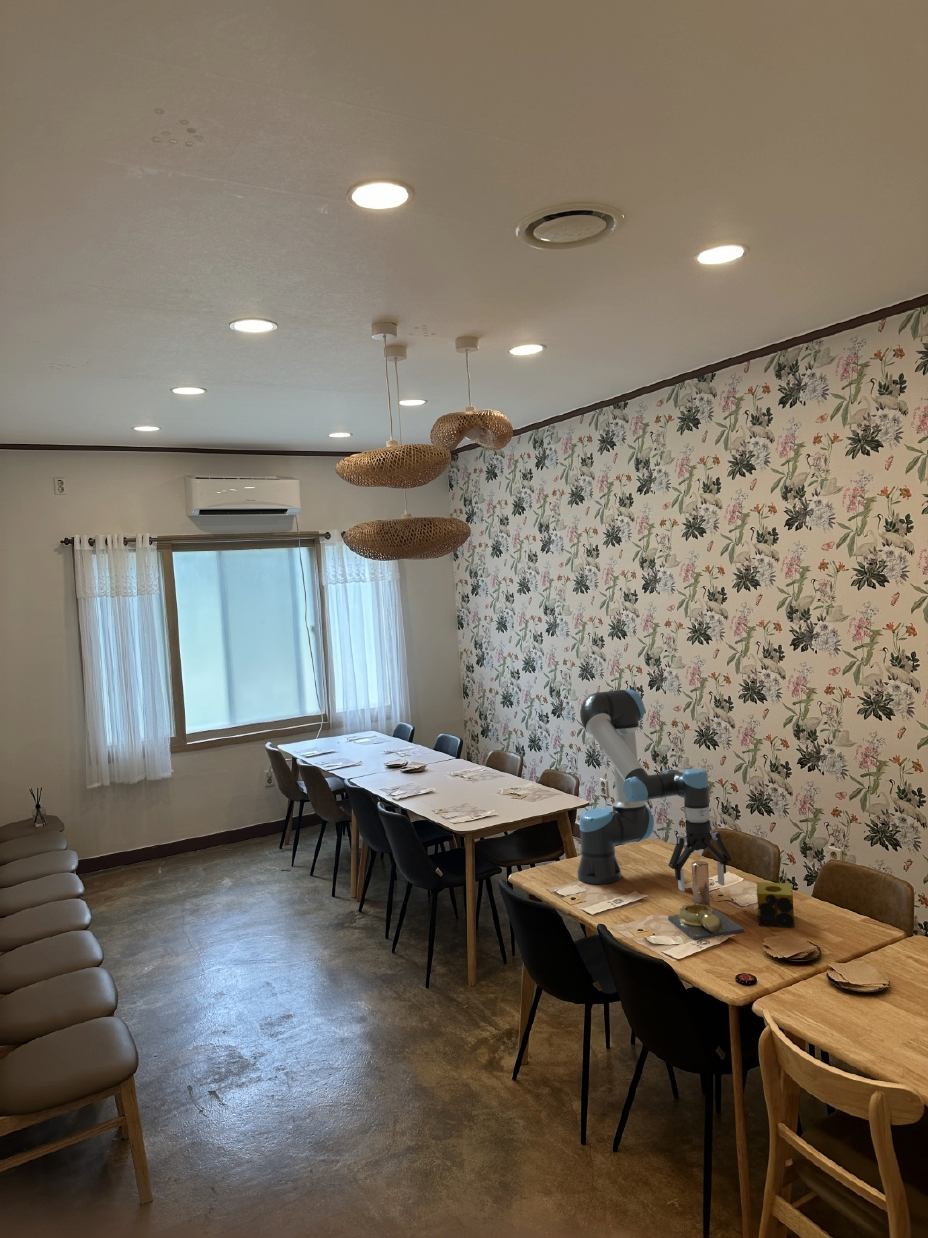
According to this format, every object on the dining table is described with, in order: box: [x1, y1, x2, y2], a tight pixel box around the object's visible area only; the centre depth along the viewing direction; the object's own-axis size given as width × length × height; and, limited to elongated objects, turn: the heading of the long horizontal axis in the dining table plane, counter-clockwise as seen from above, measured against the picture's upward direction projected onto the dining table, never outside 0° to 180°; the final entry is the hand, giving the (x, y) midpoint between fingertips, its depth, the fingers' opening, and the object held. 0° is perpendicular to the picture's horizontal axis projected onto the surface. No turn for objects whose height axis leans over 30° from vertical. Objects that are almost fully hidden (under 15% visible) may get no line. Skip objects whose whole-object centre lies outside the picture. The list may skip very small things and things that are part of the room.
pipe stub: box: [691, 860, 711, 907], centre depth 264 cm, size 5×5×14 cm
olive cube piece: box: [756, 881, 795, 929], centre depth 251 cm, size 10×10×10 cm
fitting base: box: [667, 902, 745, 941], centre depth 251 cm, size 16×16×5 cm
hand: (701, 887), depth 264 cm, fingers open, 13 cm apart
